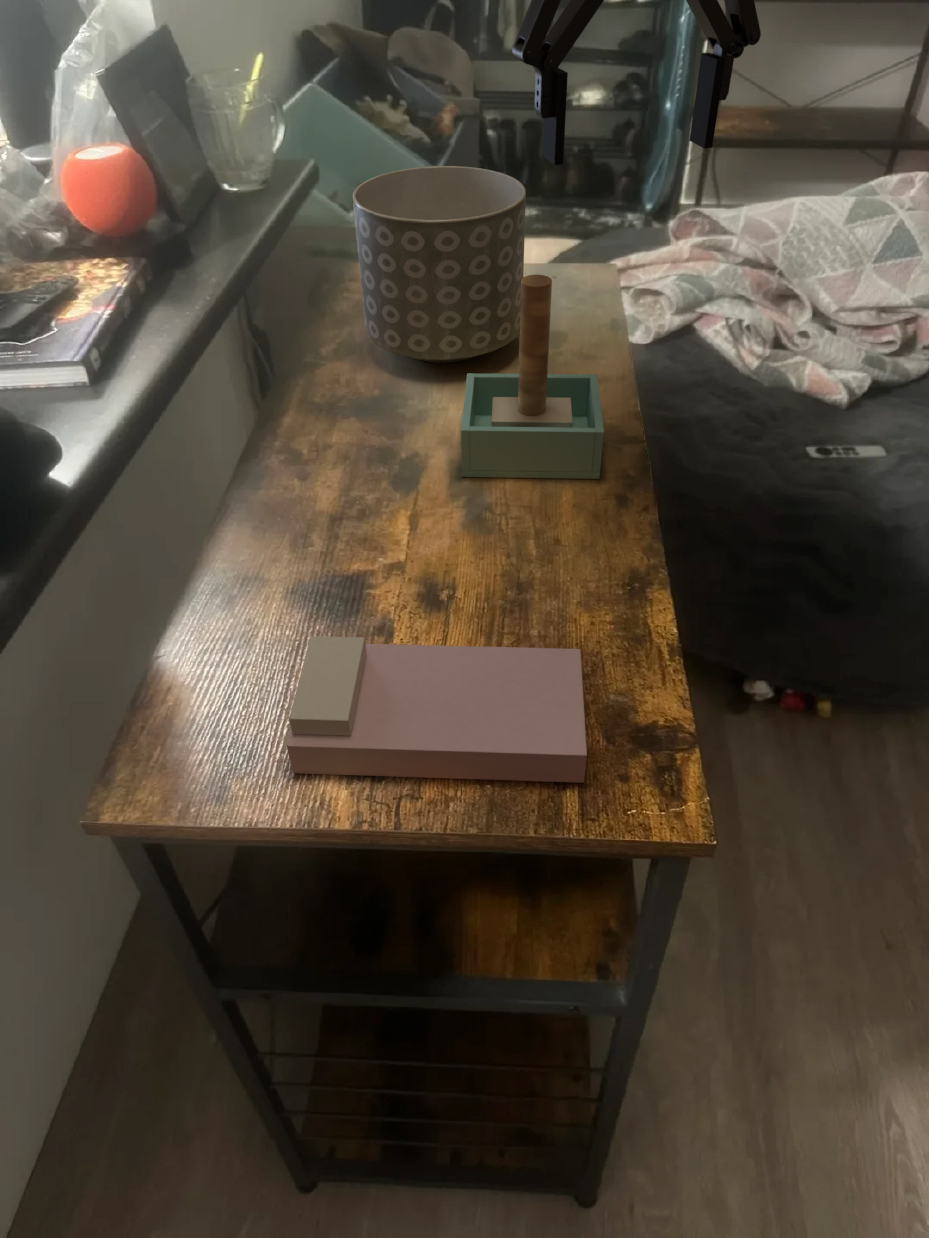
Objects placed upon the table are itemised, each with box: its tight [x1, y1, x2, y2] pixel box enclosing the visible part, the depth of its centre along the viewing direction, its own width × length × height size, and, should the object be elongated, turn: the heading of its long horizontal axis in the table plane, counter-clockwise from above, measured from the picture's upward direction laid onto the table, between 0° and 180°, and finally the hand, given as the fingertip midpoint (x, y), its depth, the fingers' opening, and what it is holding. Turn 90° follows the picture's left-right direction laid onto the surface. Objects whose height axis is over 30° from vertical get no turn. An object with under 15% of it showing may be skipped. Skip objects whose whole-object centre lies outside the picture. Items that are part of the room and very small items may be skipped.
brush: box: [491, 274, 573, 428], centre depth 85 cm, size 8×5×17 cm, turn 87°
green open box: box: [460, 372, 605, 480], centre depth 90 cm, size 14×12×5 cm
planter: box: [352, 165, 527, 364], centre depth 103 cm, size 19×19×18 cm
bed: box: [286, 635, 588, 784], centre depth 62 cm, size 20×10×5 cm, turn 87°
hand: (628, 153), depth 75 cm, fingers open, 13 cm apart
